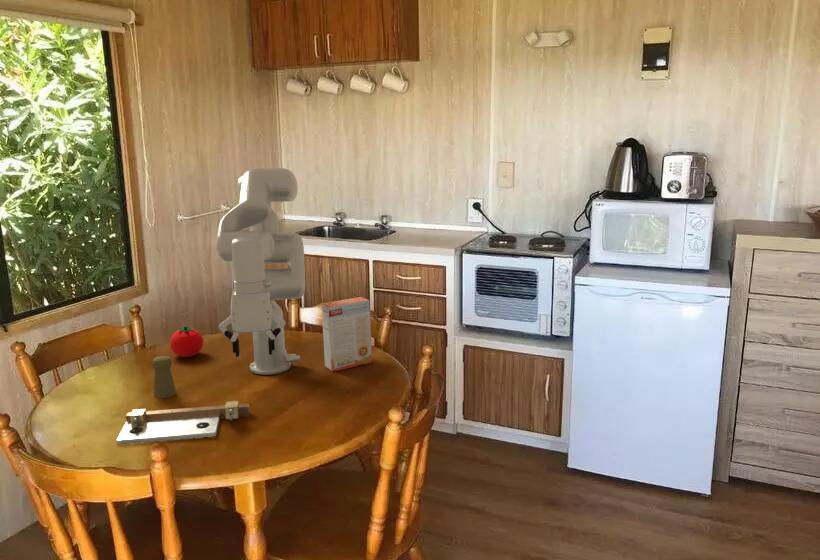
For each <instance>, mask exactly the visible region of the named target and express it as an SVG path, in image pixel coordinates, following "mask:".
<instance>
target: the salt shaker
mask: <svg viewBox="0 0 820 560" xmlns="http://www.w3.org/2000/svg"><path fill="white" fill-rule="evenodd" d="M172 363H173V362H172V358H170V356H167V355H160V356H156V357H154V358H153V360H152V362H151V366H152V368H153V370H154V382H153V383H154V384H153V397H154V398H156V399H165V398H171V397H173V396H175V395H176V394H177V390H176V387H175V386H176V385H175V382H174V378H173V374H172V369H171V367H172V365H173V364H172Z"/></svg>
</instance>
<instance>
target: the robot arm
mask: <svg viewBox="0 0 820 560" xmlns="http://www.w3.org/2000/svg"><path fill="white" fill-rule="evenodd" d="M297 181H298V180H297V178H296V176H295V174H294V173H293V172H292V171H291V170H290V169H287V168H281V167H280V168H279V167H277V168H275V167H274V168H268V167H267V168H252V169H249V170H247V171H246V172H244V174H243V175H241V176H240V177H239V178H238V181H237V189H238V193H239V201H238V202H239V203H238V204H237V205H235V206H234V207H233V208H232V209H230V210H229V211H228V212H226V214H225V215H224V216H223V217H222V218H221V220H220V222H219V224H218V228H217V236H216V243H215V245H216V246H215V247H216V253H217V256H218V258H219V259H221V260H222V261H224V262H232V271H233V272H232V273H233V285H234V286H233V288H234V289H233V290H234V291H232V292H231V298H230V300H231V301H230V315H229V316H228V317H227V318H226V319H225V320H223V321H222V322H220V324H219V325H218V329H219V330H220V331H221V332H222V333H223V334H224V336H225V337H226V338H228V339H229V340H230V341H231V342H232V353H233V354H235V358H239V356H240V354H241V351H240V339H239V338H238V336H239V335H240V334H241V333H252V345H253V357H254V358H253V360H254V361H253V362H251V363H250V364H249V371H250V372H251V373H253V374H257V375H264V376H270V375H278V374H281V373H284V372H286V371H288V370H290V369H291V367H292V363H293V362H294V363H300V362H301V355H297V353H292V354H291V353H287V349H286V346H285V345H286V344H285V326H286V323H287V322H286V320H285V319H284V313H283V310H282V308H281V307H280V305H279V304H278V303H277V302H276V301H280V300H297V299H301V298H302V297H304V295H305V293H306V271H305V267H306V265H305V247H304V242H303V239H302V236H301V235H300V234H298V233H297V232H291V231H290V232H287V231H286V232H279V218H278V214H277V213H276V212H275V211H274V209H273V208H272V202H273V203H275V202H277V203H278V202H287V203H288V202H293V201H294V200H295V199H296V198H297V195H298V190H299V189H298V182H297ZM244 229H249V230H247V231H245V230H244ZM242 230H243V231H242ZM280 264H281V265H282V264H283V265H288V266H289V267H279V268H278V267H272V268H271V267H269V268H268V267H267V268H265V265H280ZM228 325H230V326H231V330H232V331H231V330H230V329H229V328H227V326H228Z"/></svg>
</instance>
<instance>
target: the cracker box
mask: <svg viewBox="0 0 820 560" xmlns="http://www.w3.org/2000/svg"><path fill="white" fill-rule="evenodd" d="M370 304H371V303H370V300H369V299H367V298H365V297H362V296H359V297H352V298H347V299H342V300H336V301H335V300H334V301H328V302H323V303H321V316H322V319H321V320H322V336H323V353H324V367H325V368H327V370H329V371H331V372H333V371H334V372H338V371H341V370H346V369H350V368H354V367H359V366H358V365H360V366H363V365H362V364H364V365H367V364H366V363H369V364H372V363H371V362H372V335H371V334H372V333H371V331H372V330H371V313H370V312H371V307H370ZM334 372H333V373H334Z"/></svg>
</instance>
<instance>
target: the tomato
mask: <svg viewBox="0 0 820 560" xmlns="http://www.w3.org/2000/svg"><path fill="white" fill-rule="evenodd" d="M178 329H179V330H178ZM169 341H170V342H169V346H170V349H171V351H172V352H173V353H174V354H175V355H176V356H178V357H182V358H190V357H194V356H196V355H198V354H199V353H200V351H201V350H202V349H203V347H204V337H203V335H202V334H201V333H200V332H199V331H198V330H197V329H195V327H191V328H190V325H189V324H188V325H187V326H184V327H183V328H182V327H180V326H179V327H178V326H177V330H176V331H175V332H174V333H173V334H172V335H171V337H170V340H169Z"/></svg>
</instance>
